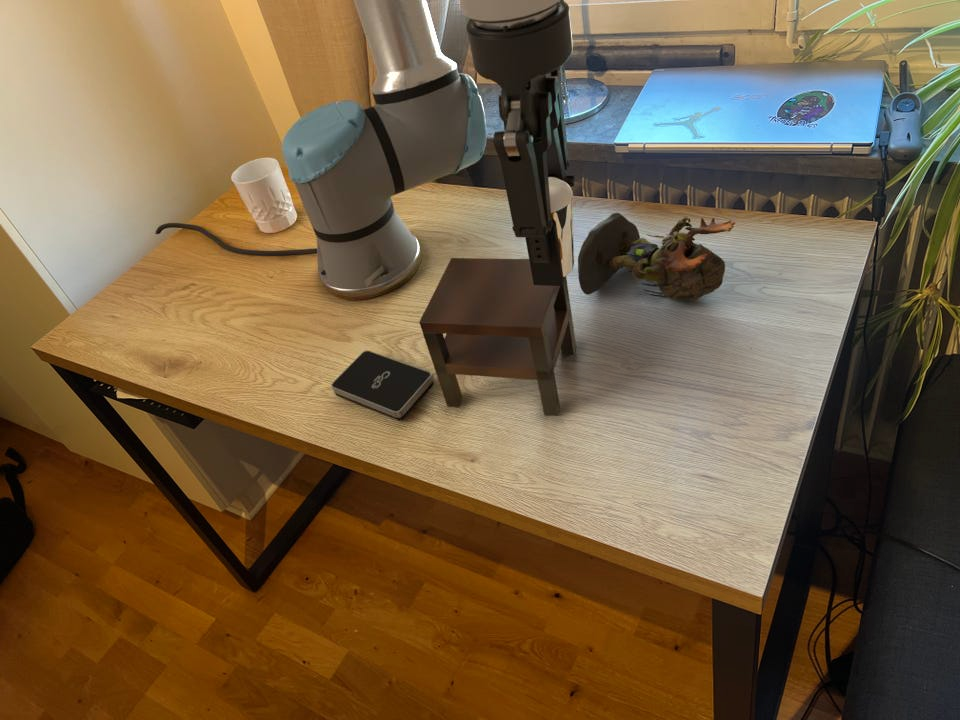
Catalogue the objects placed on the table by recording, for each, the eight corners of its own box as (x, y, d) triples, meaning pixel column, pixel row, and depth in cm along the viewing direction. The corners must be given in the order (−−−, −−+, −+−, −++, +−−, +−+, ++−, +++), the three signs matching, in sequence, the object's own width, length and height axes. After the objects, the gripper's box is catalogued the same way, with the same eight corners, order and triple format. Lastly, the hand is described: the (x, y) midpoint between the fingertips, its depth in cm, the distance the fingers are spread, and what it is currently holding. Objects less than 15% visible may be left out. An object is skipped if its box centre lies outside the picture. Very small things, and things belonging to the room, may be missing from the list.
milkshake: (521, 260, 69) (504, 170, 62) (575, 248, 69) (564, 156, 62) (528, 290, 66) (511, 198, 59) (585, 277, 66) (575, 184, 59)
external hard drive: (370, 360, 91) (365, 349, 89) (438, 385, 85) (434, 373, 84) (334, 397, 87) (328, 386, 86) (403, 425, 81) (398, 414, 80)
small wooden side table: (447, 406, 82) (418, 322, 73) (474, 341, 89) (451, 257, 81) (557, 416, 78) (541, 327, 69) (576, 347, 85) (563, 258, 76)
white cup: (295, 231, 118) (272, 178, 111) (251, 239, 119) (225, 186, 112) (304, 206, 124) (282, 153, 117) (262, 213, 125) (238, 162, 118)
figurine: (611, 198, 95) (743, 202, 83) (624, 260, 100) (750, 273, 88) (551, 250, 87) (686, 263, 75) (568, 314, 92) (697, 337, 80)
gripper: (541, 56, 44) (577, 330, 60) (587, -39, 56) (607, 214, 72) (430, 64, 47) (493, 326, 63) (496, -28, 58) (534, 214, 74)
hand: (553, 266), depth 67 cm, fingers closed on milkshake, 4 cm apart
